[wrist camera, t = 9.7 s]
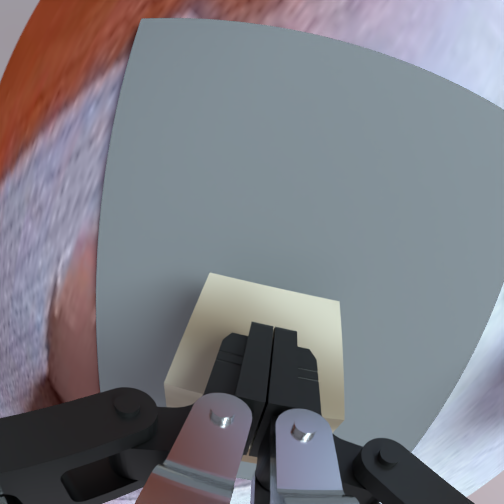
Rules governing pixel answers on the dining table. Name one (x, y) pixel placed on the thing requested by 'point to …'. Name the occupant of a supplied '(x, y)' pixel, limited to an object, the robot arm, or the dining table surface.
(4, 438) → the robot arm
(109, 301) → the mat
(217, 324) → the block
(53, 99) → the dining table surface
